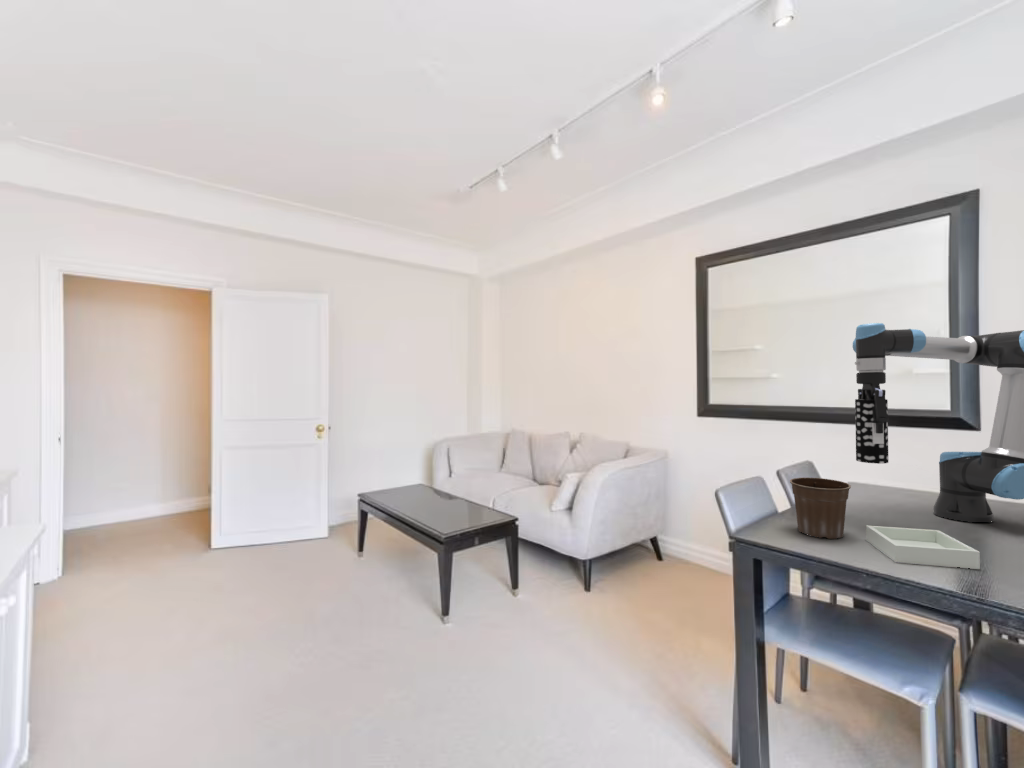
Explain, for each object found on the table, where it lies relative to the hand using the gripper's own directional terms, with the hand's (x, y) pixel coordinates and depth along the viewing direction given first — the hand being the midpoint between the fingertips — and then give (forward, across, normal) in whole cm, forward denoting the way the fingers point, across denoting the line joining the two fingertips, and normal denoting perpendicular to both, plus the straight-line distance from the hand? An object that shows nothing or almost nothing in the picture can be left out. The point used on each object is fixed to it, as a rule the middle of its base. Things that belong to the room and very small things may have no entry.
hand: (871, 441), depth 151 cm
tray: (+29, +21, +3) cm, 36 cm away
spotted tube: (+7, 0, 0) cm, 7 cm away
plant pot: (+29, +8, -17) cm, 34 cm away
